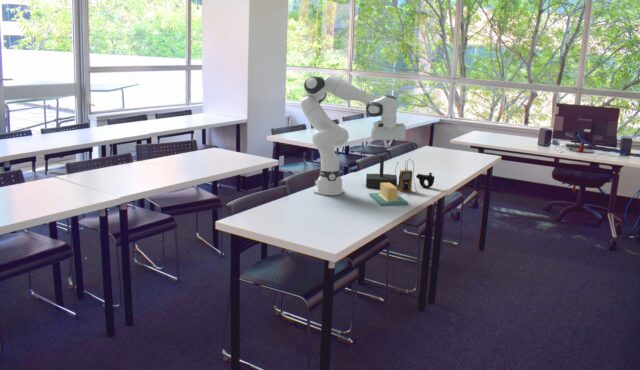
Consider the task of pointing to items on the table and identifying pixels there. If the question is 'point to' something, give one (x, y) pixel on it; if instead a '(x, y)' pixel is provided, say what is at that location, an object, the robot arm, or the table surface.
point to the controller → (425, 177)
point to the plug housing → (388, 191)
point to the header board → (384, 202)
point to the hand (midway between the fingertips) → (387, 147)
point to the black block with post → (380, 177)
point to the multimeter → (405, 180)
